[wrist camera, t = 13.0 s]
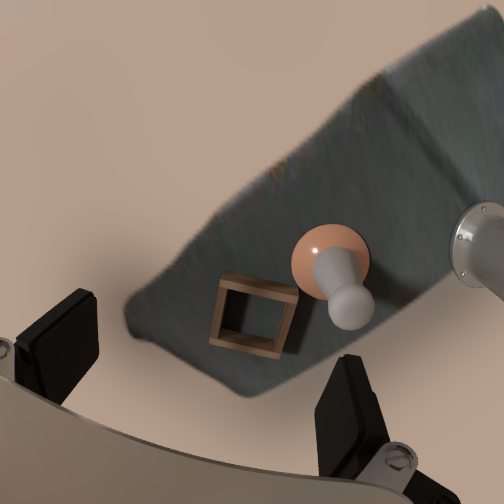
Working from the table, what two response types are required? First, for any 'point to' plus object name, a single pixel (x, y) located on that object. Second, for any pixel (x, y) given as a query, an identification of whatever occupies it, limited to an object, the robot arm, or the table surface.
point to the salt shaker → (343, 288)
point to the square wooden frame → (260, 289)
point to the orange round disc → (316, 244)
